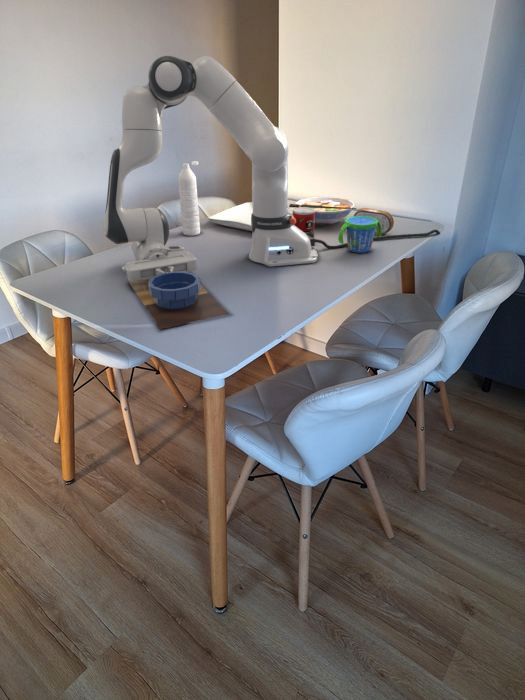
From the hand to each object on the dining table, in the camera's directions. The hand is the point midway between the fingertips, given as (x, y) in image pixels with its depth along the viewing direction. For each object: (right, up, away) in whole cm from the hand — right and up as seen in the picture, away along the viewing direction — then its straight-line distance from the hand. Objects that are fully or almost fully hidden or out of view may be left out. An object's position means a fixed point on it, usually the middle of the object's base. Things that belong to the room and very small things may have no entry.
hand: (169, 276), depth 140 cm
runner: (-1, -3, +6) cm, 6 cm away
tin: (+66, +23, +48) cm, 85 cm away
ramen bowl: (+50, +30, +60) cm, 84 cm away
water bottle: (0, +24, +52) cm, 57 cm away
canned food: (+40, +18, +41) cm, 61 cm away
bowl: (+3, -7, -3) cm, 8 cm away
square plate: (+23, +30, +62) cm, 73 cm away
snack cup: (+58, +13, +32) cm, 68 cm away
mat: (+6, -10, -7) cm, 14 cm away
